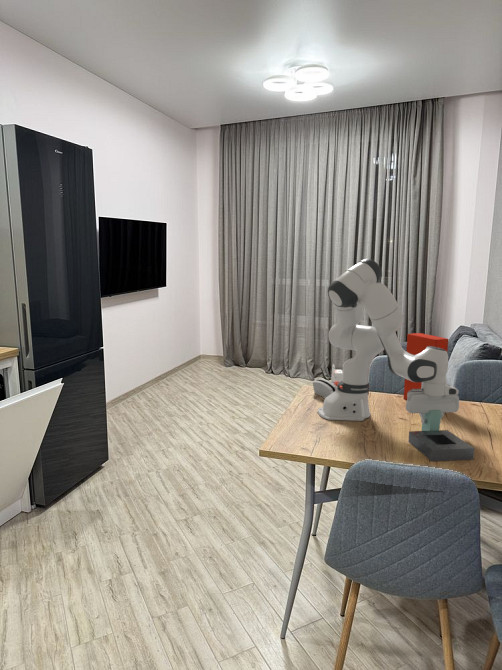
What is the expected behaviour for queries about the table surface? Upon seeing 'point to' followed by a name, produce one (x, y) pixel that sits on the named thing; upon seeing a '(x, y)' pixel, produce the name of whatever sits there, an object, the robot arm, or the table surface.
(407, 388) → the file binder
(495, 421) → the table surface
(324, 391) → the grey napkin holder
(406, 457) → the table surface
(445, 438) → the collar block
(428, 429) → the sage green box
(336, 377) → the ink cartridge box
